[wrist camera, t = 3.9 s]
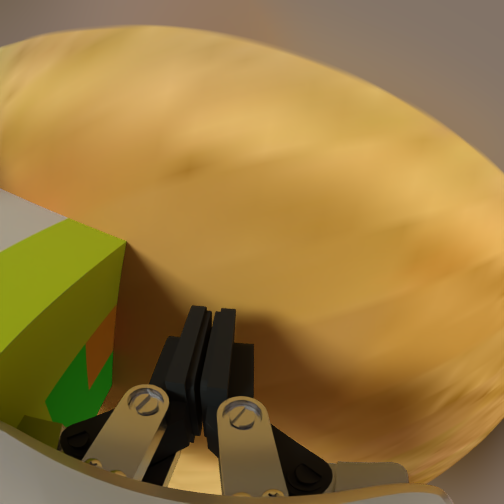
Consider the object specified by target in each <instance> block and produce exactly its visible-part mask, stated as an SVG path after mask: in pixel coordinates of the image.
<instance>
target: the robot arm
mask: <svg viewBox="0 0 504 504" xmlns="http://www.w3.org/2000/svg"><path fill="white" fill-rule="evenodd" d="M235 316H236V309H226V308H221V312H218V311H216V312H215V316H214V321H213V326H212V311H207V307H204V306H194V305H192V306H191V309H190V312H189V314H188V317H187V320H186V323H185V325H184V328H183V331H182V334H181V336H180V337H174V336H169V337H168V338H167V340H166V343H165V345H164V348H163V350H162V353H161V355H160V357H159V360H158V362H157V365H156V367H155V370H154V373H153V375H152V378H151V380H150V383H149V384H142V385H138V386H134V387H133V388H131V389H129V390H128V391H127V392H126V393H125V394H124V396H123V397H122V399H121V400H120V402H119V403H118V405H117V407H116V408H115V409H113V410H110V411H108V412H105V413H103V414H100V415H97V416H94V417H92V418H89V419H86V420H83V421H81V422H78V423H75V424H72V425H70V426H68V427H65V426H64V425H63V424H62V423H57V422H52V421H47V420H43V419H39V418H35V417H31V416H27V415H24V417H23V418H22V420H21V421H20V423H19V425H18V426H17V428H14V427H12V426H10V425H8V424H6V423H4V422H2V421H0V504H454V503H453V501H452V500H451V498H450V497H449V496H448V495H447V493H446V492H444V491H443V490H442V489H440V488H438V487H435V486H432V485H427V484H418V483H408V474H407V471H406V470H405V468H404V467H403V466H401V465H399V464H398V463H391V462H387V463H359V462H337V464H333V463H327V462H325V461H324V460H323V459H321V458H320V457H318V456H317V455H315V454H314V453H312V452H310V451H309V450H307V449H306V448H304V447H303V446H301V445H300V444H298V443H297V442H296V441H294V440H293V439H291V438H290V437H288V436H287V435H286V434H284V433H283V432H281V431H280V430H279V429H277V428H276V427H275V426H273V425H272V424H270V420H269V416H268V412H267V410H266V408H265V406H264V405H263V404H262V403H261V402H259V401H257V400H256V399H254V344H244V343H234V334H235ZM202 423H203V427H204V436H205V437H207V443H208V449H209V450H210V451H211V452H213V453H214V454H215V455H216V456H217V457H218V461H219V472H220V481H221V490H222V495H214V494H205V493H197V492H190V491H184V490H178V489H173V488H168V484H169V482H170V479H171V477H172V474H173V472H174V469H175V467H176V464H177V462H178V459H179V457H180V454H181V450H182V449H184V448H185V447H187V446H189V443H190V442H191V443H194V438H195V436H200V435H201V429H202Z"/></svg>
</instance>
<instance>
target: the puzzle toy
mask: <svg viewBox="0 0 504 504" xmlns="http://www.w3.org/2000/svg"><path fill="white" fill-rule="evenodd" d="M126 242H127V241H125V240H122V239H119V238H117V237H114V236H112V235H109V234H107V233H104V232H102V231H99V230H97V229H94V228H92V227H89V226H87V225H84V224H82V223H79V222H77V221H74V220H72V219H69V218H67V217H65V216H62V215H60V214H57V213H55V212H53V211H50V210H48V209H46V208H43V207H41V206H39V205H36V204H34V203H32V202H29V201H27V200H25V199H22V198H20V197H18V196H16V195H13V194H11V193H9V192H7V191H5V190H2V189H0V421H2V422H4V423H6V424H8V425H10V426H12V427H14V428H17V426H18V425H19V423H20V421H21V420H22V418H23V417H24V415H27V416H31V417H35V418H39V419H43V420H47V421H52V422H57V423H62V424H63V425H64V426H65V427H68V426H70V425H72V424H75V423H78V422H81V421H83V420H86V419H89V418H92V417H94V416H96V415H97V413H98V411H99V409H100V407H101V405H102V403H103V401H104V399H105V397H106V396H107V394H108V392H109V390H110V388H111V386H112V366H113V345H114V331H115V319H116V309H117V300H118V292H119V285H120V278H121V271H122V265H123V259H124V253H125V247H126Z"/></svg>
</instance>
